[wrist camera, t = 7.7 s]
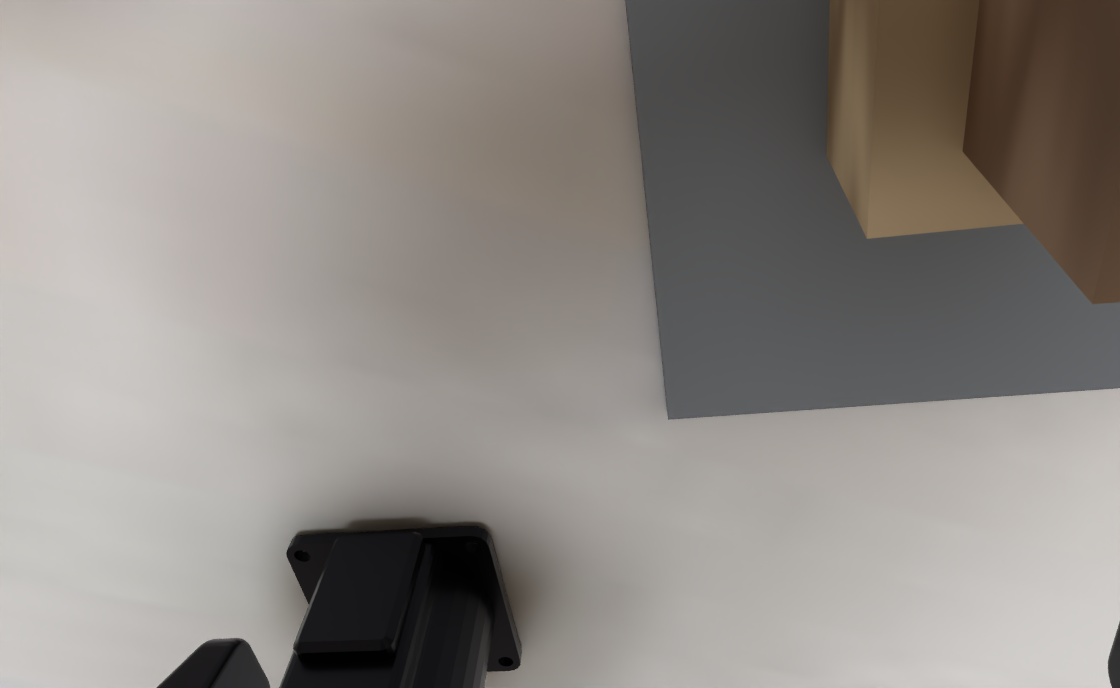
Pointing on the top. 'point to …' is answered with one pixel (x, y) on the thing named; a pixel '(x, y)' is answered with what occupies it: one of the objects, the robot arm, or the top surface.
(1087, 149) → the walnut cube
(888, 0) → the oak base block
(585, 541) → the top surface
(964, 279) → the mat
